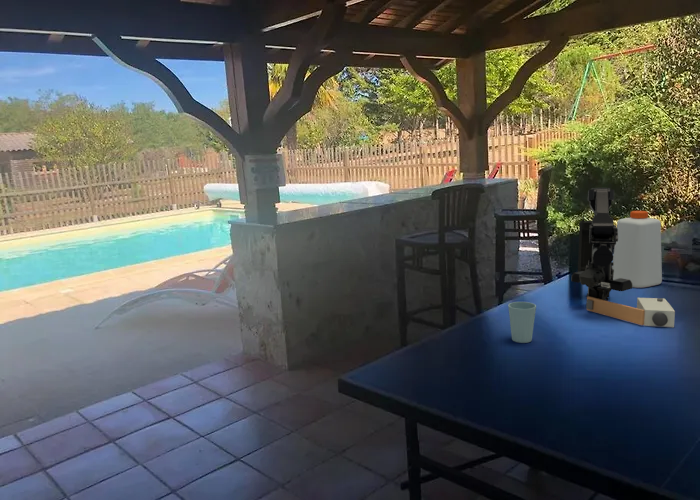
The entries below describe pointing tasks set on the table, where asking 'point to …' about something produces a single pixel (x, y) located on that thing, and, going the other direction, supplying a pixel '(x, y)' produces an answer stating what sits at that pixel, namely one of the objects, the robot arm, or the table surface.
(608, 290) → the robot arm
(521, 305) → the cup
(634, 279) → the plastic bottle
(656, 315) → the camera housing
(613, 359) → the table surface
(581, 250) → the portable radio
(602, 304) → the side door
